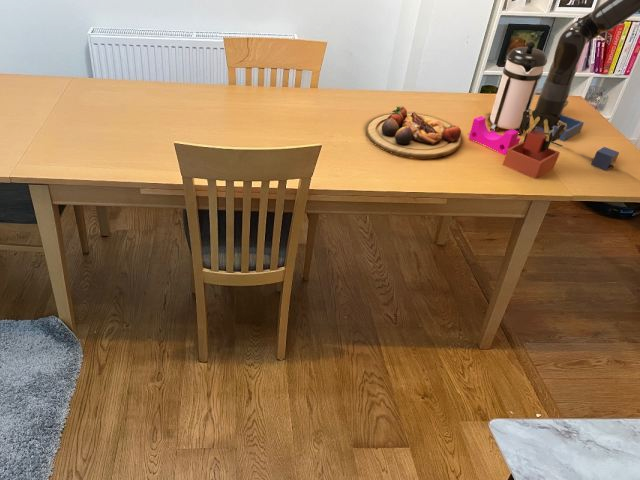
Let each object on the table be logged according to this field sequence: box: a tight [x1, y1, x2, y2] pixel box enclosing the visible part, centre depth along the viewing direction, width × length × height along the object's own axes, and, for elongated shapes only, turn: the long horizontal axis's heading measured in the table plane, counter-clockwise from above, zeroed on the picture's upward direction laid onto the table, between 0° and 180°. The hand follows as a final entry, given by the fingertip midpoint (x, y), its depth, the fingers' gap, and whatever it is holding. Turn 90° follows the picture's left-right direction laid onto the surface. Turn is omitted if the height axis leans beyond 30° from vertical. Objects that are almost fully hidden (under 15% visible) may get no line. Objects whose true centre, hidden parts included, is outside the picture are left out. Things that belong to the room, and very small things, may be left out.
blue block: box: [591, 146, 620, 171], centre depth 190 cm, size 5×5×5 cm
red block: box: [523, 129, 545, 154], centre depth 185 cm, size 5×5×5 cm
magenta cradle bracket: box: [468, 115, 521, 156], centre depth 199 cm, size 15×6×8 cm, turn 37°
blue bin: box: [535, 113, 585, 147], centre depth 206 cm, size 12×12×6 cm
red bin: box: [502, 140, 561, 180], centre depth 188 cm, size 12×12×6 cm
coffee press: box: [488, 41, 548, 136], centre depth 204 cm, size 17×16×30 cm
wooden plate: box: [366, 106, 462, 159], centre depth 201 cm, size 32×32×8 cm
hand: (534, 147), depth 186 cm, fingers closed on red block, 5 cm apart
